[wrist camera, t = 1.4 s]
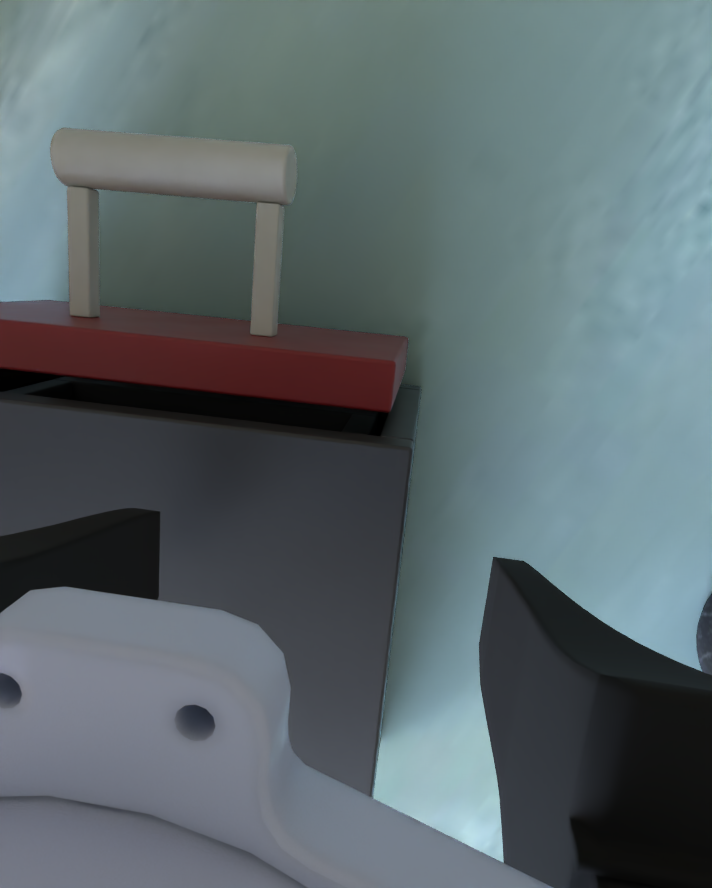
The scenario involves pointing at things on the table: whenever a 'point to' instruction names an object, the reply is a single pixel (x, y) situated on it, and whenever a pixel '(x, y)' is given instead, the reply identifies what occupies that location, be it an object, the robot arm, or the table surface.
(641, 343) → the table surface
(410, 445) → the charcoal grey case
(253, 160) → the drawer
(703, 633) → the travel mug
